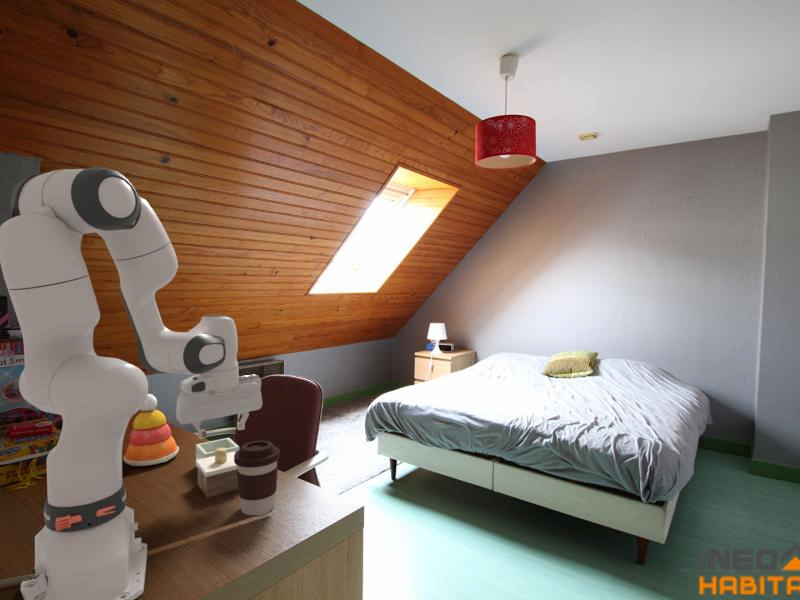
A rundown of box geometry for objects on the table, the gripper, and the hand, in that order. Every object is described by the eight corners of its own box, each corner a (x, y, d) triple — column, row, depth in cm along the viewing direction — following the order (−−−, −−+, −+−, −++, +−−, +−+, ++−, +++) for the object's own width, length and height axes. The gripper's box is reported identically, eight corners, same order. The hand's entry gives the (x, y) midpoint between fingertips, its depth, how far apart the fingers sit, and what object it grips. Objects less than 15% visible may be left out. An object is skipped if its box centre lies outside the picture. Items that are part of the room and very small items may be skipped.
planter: (239, 471, 123) (239, 446, 123) (205, 480, 118) (204, 454, 118) (229, 461, 131) (229, 437, 130) (196, 469, 125) (195, 444, 125)
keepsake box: (245, 490, 112) (244, 466, 112) (207, 501, 107) (207, 476, 107) (233, 477, 120) (233, 455, 119) (197, 487, 114) (197, 464, 114)
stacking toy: (181, 447, 141) (180, 386, 140) (176, 465, 128) (174, 397, 127) (129, 454, 136) (127, 390, 135) (118, 472, 123) (116, 402, 122)
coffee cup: (240, 526, 96) (239, 457, 95) (230, 506, 104) (229, 442, 104) (286, 513, 101) (285, 447, 101) (273, 495, 110) (272, 435, 109)
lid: (246, 469, 112) (246, 451, 112) (206, 479, 106) (205, 460, 106) (234, 457, 120) (234, 440, 120) (195, 466, 114) (195, 448, 114)
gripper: (256, 371, 121) (258, 421, 122) (173, 383, 109) (175, 439, 110) (265, 375, 116) (266, 427, 117) (179, 388, 104) (181, 447, 105)
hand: (222, 433), depth 113 cm, fingers open, 8 cm apart
